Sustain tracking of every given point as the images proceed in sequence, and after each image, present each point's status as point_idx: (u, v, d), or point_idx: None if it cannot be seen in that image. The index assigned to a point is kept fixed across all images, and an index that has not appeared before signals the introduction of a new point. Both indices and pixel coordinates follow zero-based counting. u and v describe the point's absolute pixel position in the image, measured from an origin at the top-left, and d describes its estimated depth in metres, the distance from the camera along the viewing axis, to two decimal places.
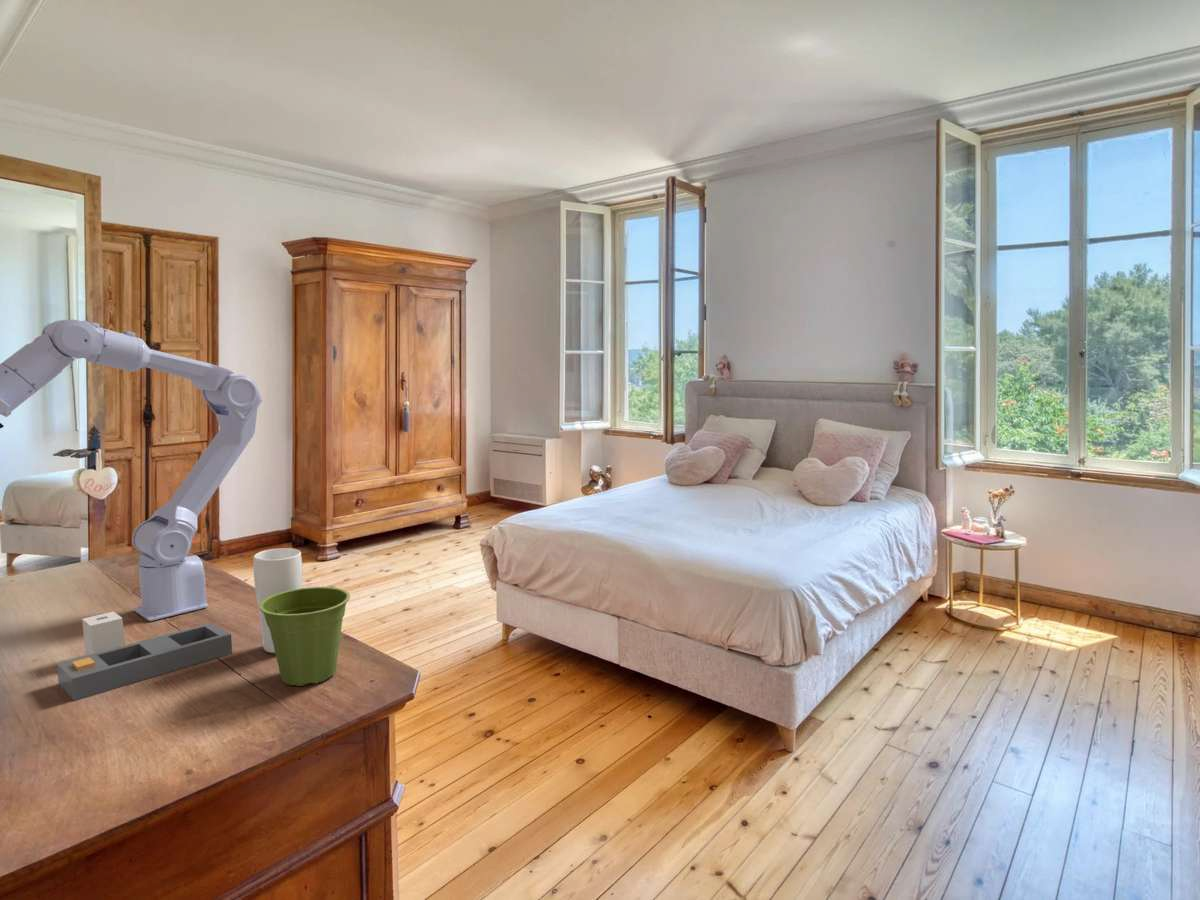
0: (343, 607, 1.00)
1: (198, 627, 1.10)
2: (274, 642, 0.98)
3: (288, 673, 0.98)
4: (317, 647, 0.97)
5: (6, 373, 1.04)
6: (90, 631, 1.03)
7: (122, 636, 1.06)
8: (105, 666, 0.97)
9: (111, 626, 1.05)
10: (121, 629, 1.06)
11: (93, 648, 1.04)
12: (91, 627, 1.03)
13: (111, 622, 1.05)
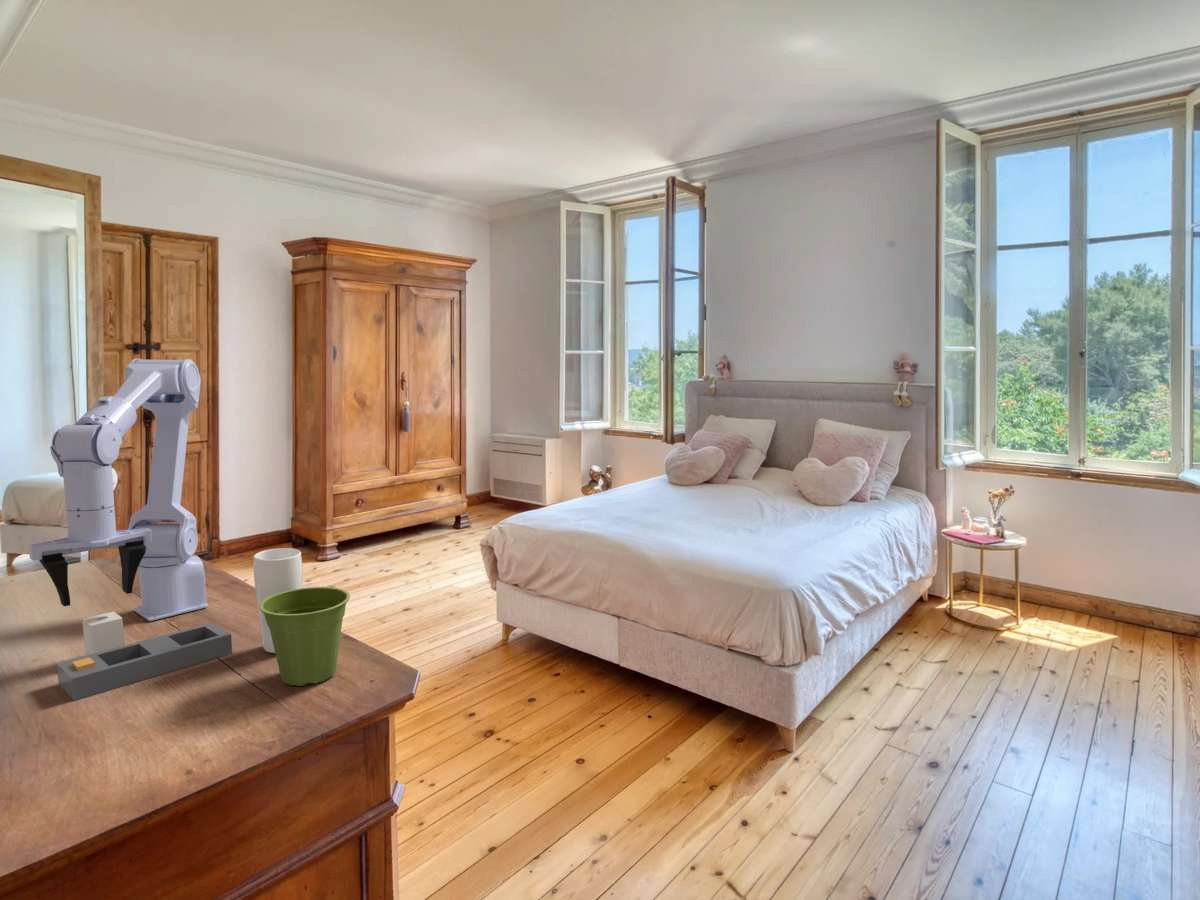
0: (343, 607, 1.00)
1: (198, 627, 1.10)
2: (274, 642, 0.98)
3: (288, 673, 0.98)
4: (317, 647, 0.97)
5: (111, 512, 1.04)
6: (90, 631, 1.03)
7: (122, 636, 1.06)
8: (105, 666, 0.97)
9: (111, 626, 1.05)
10: (121, 629, 1.06)
11: (93, 648, 1.04)
12: (91, 627, 1.03)
13: (111, 622, 1.05)
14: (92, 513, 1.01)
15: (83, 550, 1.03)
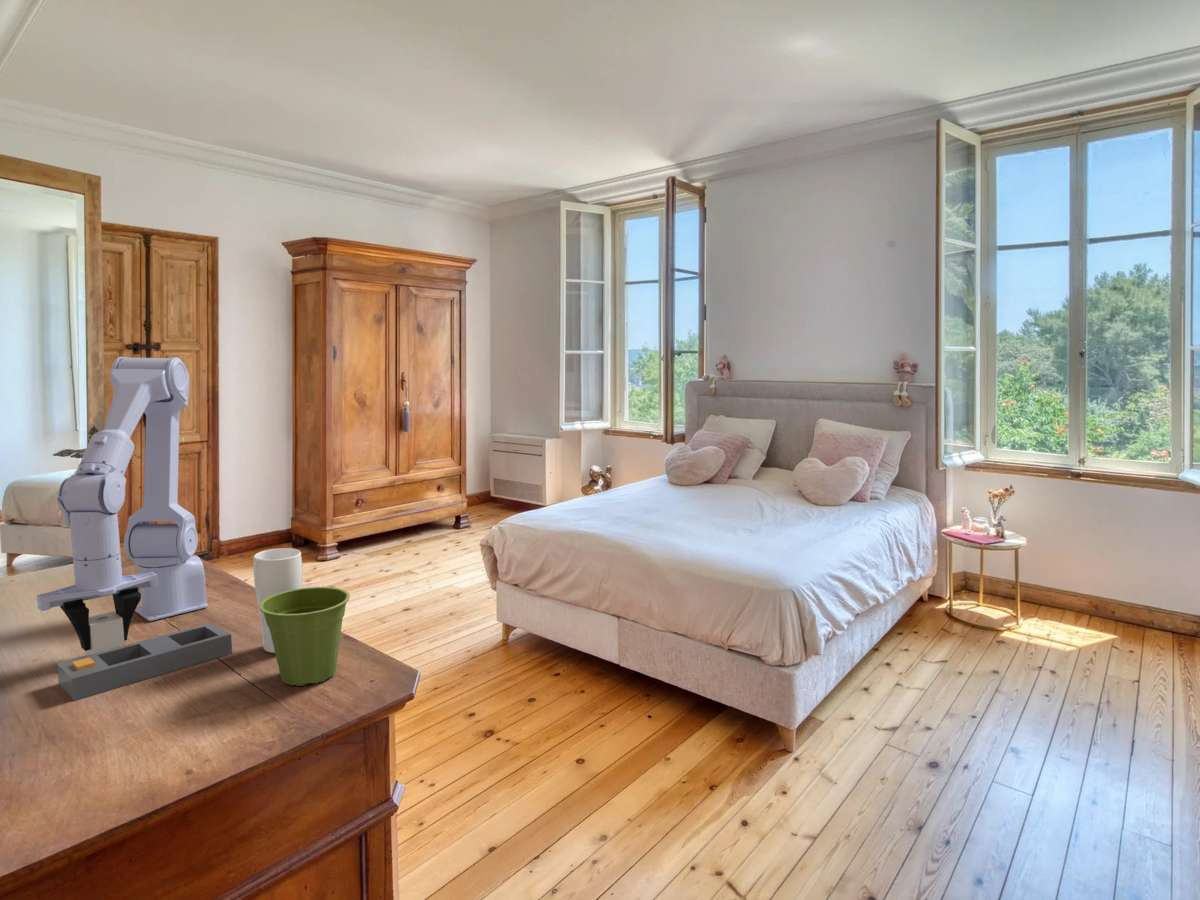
0: (343, 607, 1.00)
1: (198, 627, 1.10)
2: (274, 642, 0.98)
3: (288, 673, 0.98)
4: (317, 646, 0.97)
5: (118, 559, 1.05)
6: (90, 631, 1.03)
7: (122, 636, 1.06)
8: (105, 666, 0.97)
9: (111, 626, 1.05)
10: (121, 629, 1.06)
11: (93, 648, 1.03)
12: (91, 627, 1.03)
13: (111, 622, 1.05)
14: (99, 562, 1.02)
15: (90, 598, 1.04)
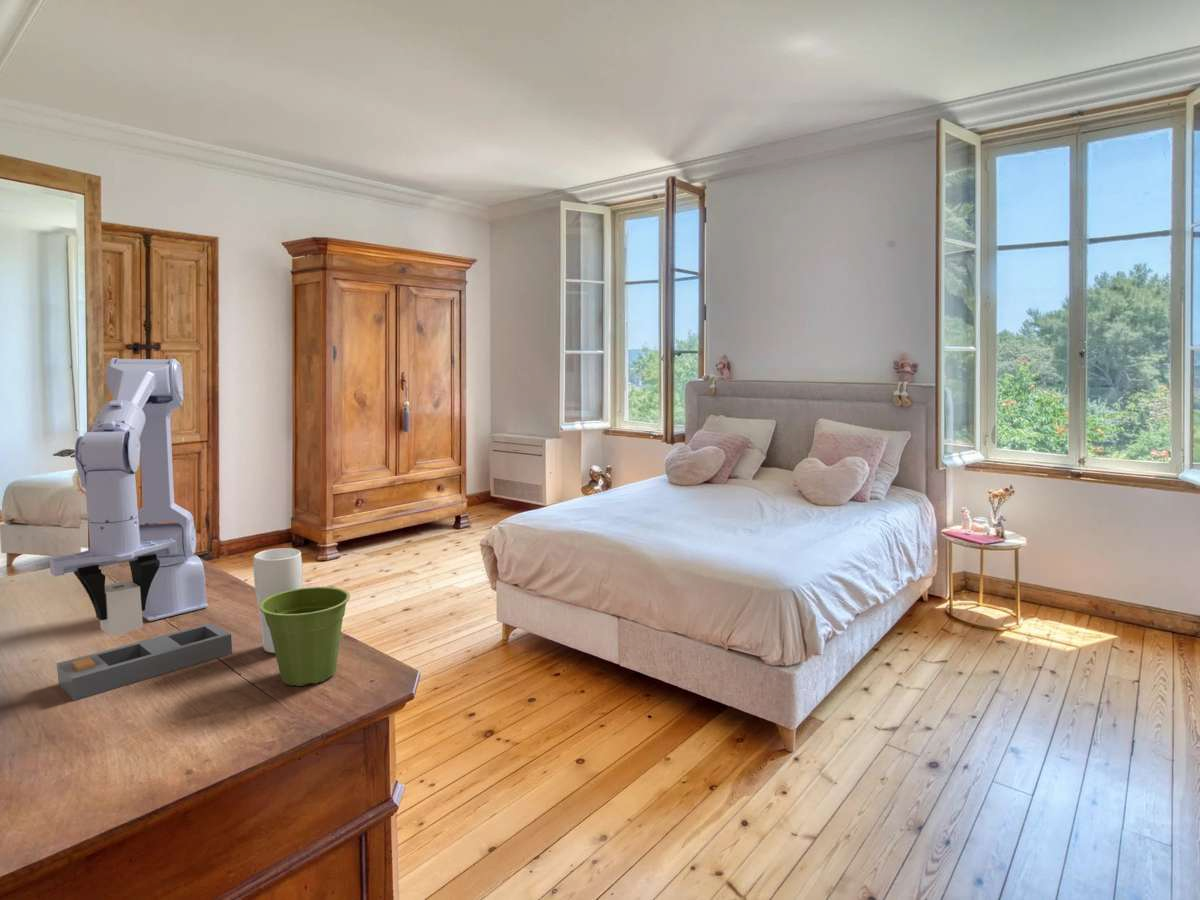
0: (343, 607, 1.00)
1: (198, 627, 1.10)
2: (274, 642, 0.98)
3: (288, 673, 0.98)
4: (317, 647, 0.97)
5: (136, 523, 0.98)
6: (106, 599, 0.97)
7: (139, 606, 1.00)
8: (105, 666, 0.97)
9: (128, 594, 0.98)
10: (138, 598, 0.99)
11: (109, 618, 0.97)
12: (107, 595, 0.97)
13: (128, 590, 0.98)
14: (116, 525, 0.96)
15: (106, 564, 0.97)
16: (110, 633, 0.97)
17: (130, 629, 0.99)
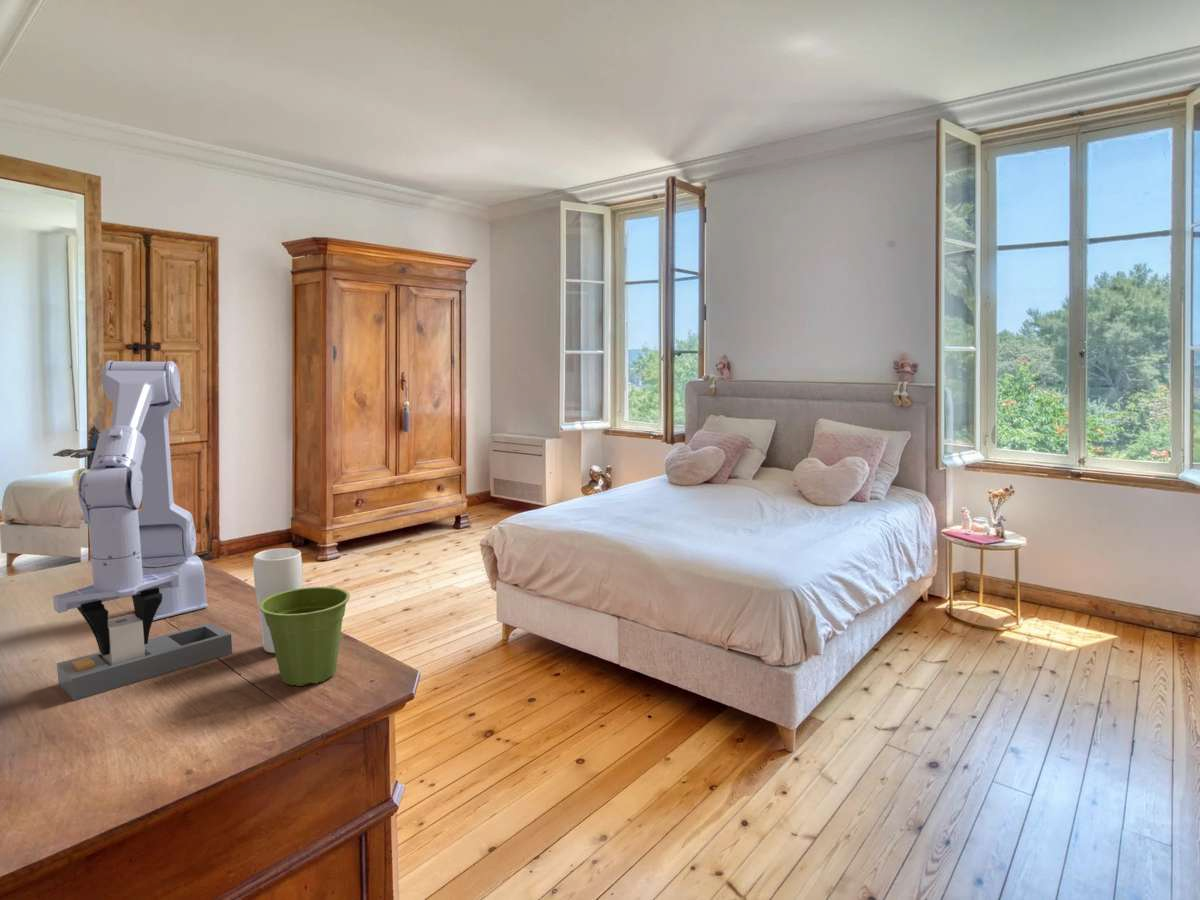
0: (343, 607, 1.00)
1: (198, 627, 1.10)
2: (274, 642, 0.98)
3: (288, 673, 0.98)
4: (317, 647, 0.97)
5: (139, 558, 0.99)
6: (109, 634, 0.97)
7: (142, 640, 1.00)
8: (105, 666, 0.97)
9: (131, 629, 0.99)
10: (141, 632, 1.00)
11: (112, 652, 0.98)
12: (110, 630, 0.97)
13: (131, 625, 0.99)
14: (119, 561, 0.96)
15: (109, 599, 0.98)
16: None
17: None
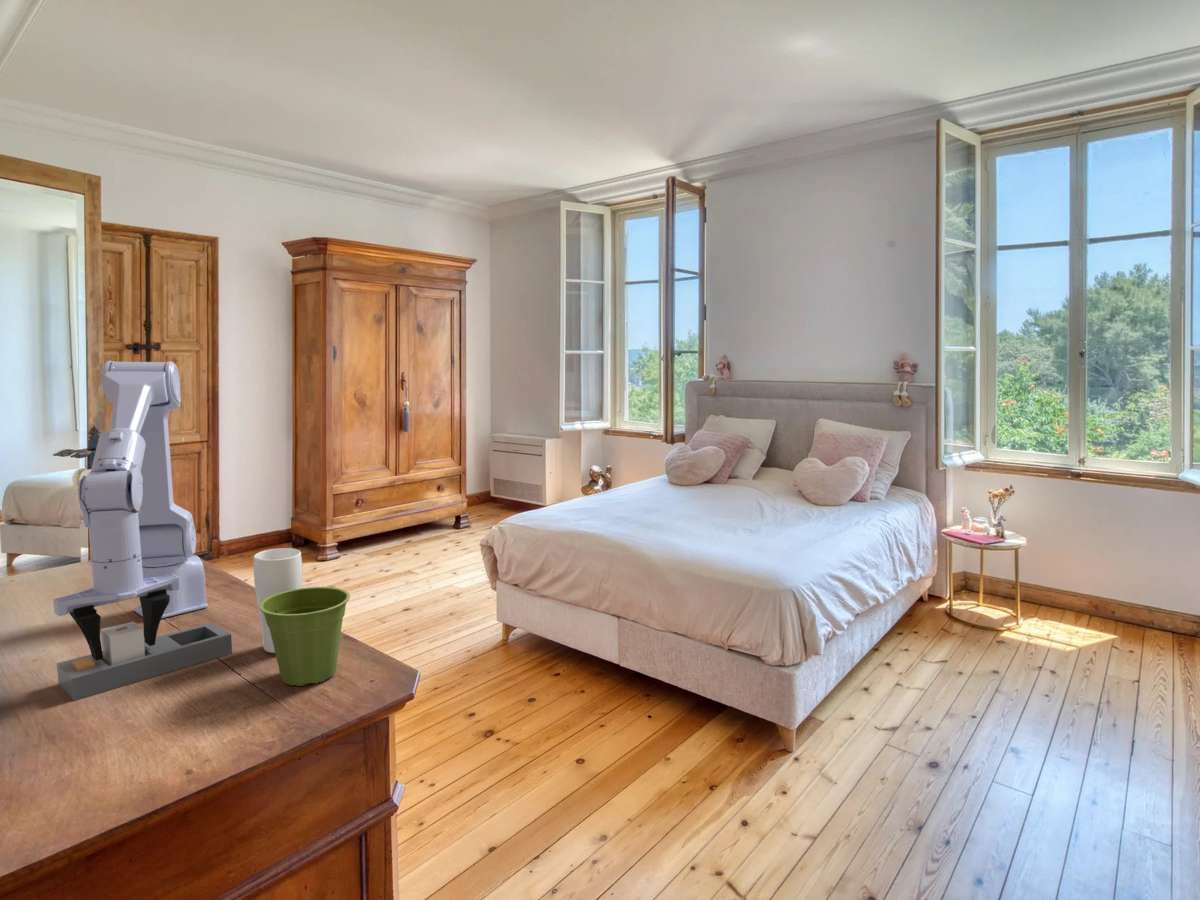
0: (343, 607, 1.00)
1: (198, 627, 1.10)
2: (274, 642, 0.98)
3: (288, 673, 0.98)
4: (317, 647, 0.97)
5: (139, 561, 0.99)
6: (109, 643, 0.98)
7: (143, 648, 1.00)
8: (105, 666, 0.97)
9: (132, 637, 0.99)
10: (142, 640, 1.00)
11: (112, 661, 0.98)
12: (110, 638, 0.97)
13: (131, 633, 0.99)
14: (120, 564, 0.96)
15: (109, 602, 0.98)
16: None
17: None
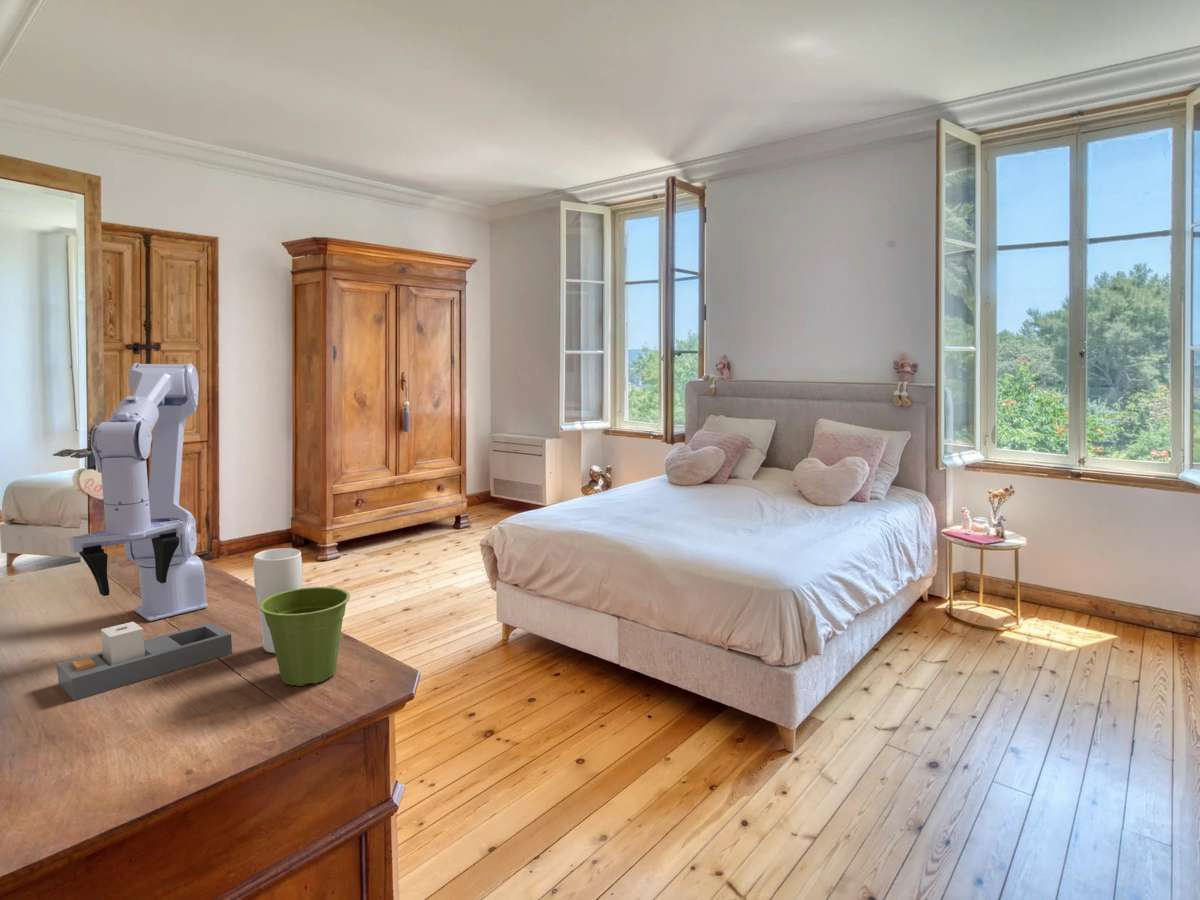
0: (343, 607, 1.00)
1: (198, 627, 1.10)
2: (274, 642, 0.98)
3: (288, 673, 0.98)
4: (317, 647, 0.97)
5: (147, 505, 1.08)
6: (109, 643, 0.98)
7: (143, 648, 1.00)
8: (105, 666, 0.97)
9: (132, 637, 0.99)
10: (142, 640, 1.00)
11: (112, 661, 0.98)
12: (110, 638, 0.97)
13: (131, 633, 0.99)
14: (130, 507, 1.05)
15: (120, 542, 1.07)
16: None
17: None
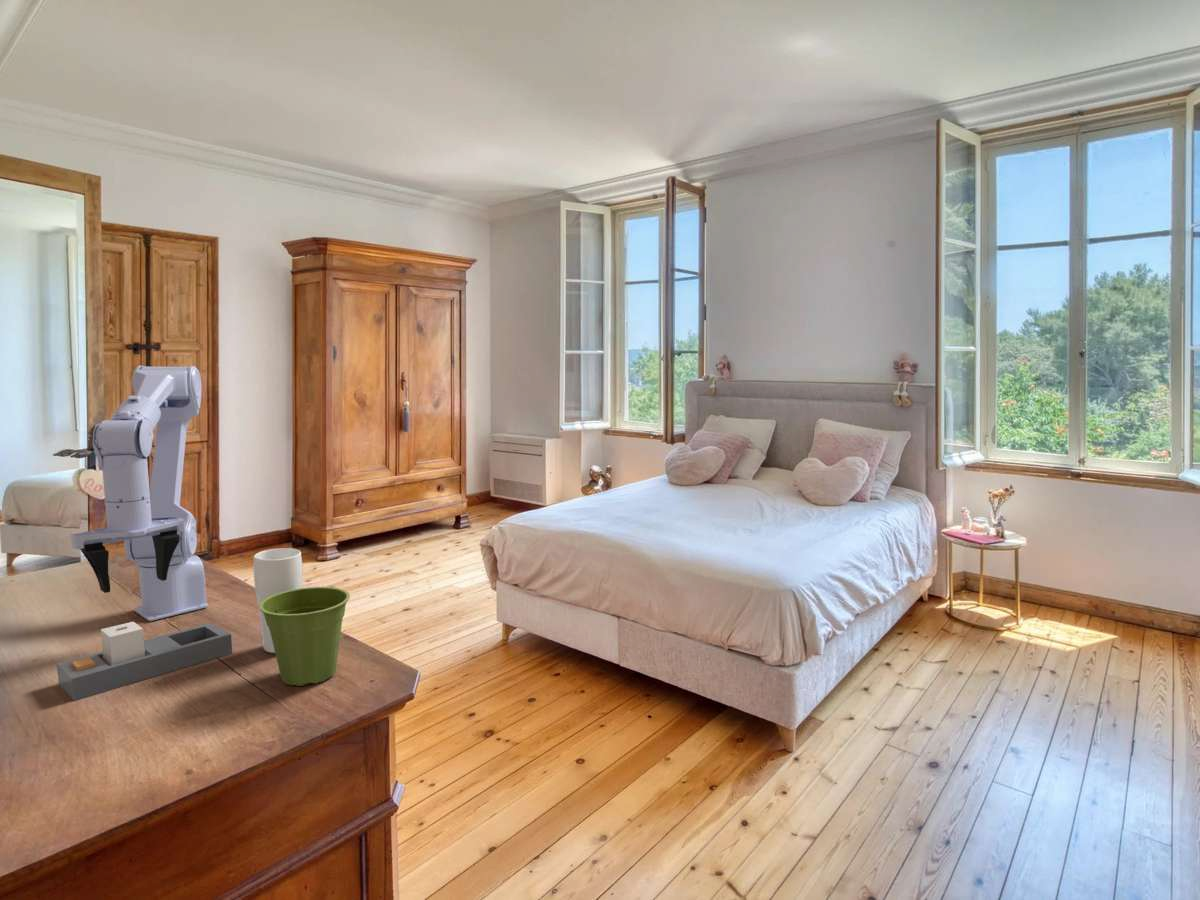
0: (343, 607, 1.00)
1: (198, 627, 1.10)
2: (274, 642, 0.98)
3: (288, 673, 0.98)
4: (316, 647, 0.97)
5: (148, 503, 1.09)
6: (109, 643, 0.98)
7: (143, 648, 1.00)
8: (105, 666, 0.97)
9: (132, 637, 0.99)
10: (142, 640, 1.00)
11: (112, 661, 0.98)
12: (110, 638, 0.97)
13: (131, 633, 0.99)
14: (131, 504, 1.06)
15: (121, 539, 1.08)
16: None
17: None
